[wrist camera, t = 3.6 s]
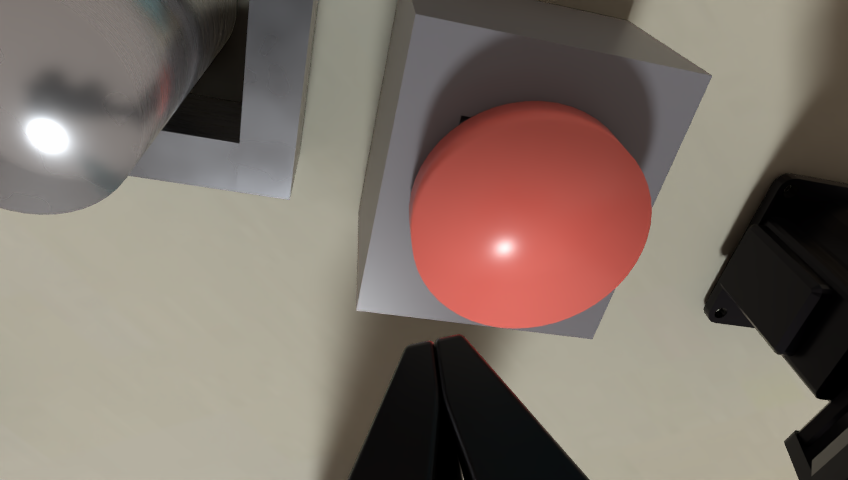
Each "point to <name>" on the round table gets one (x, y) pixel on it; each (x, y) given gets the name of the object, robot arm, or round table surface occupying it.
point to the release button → (527, 215)
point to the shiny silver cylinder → (93, 90)
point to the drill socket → (245, 113)
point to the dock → (498, 85)
